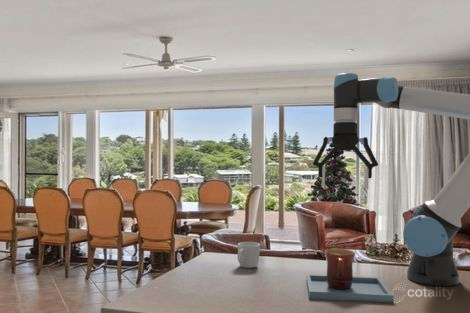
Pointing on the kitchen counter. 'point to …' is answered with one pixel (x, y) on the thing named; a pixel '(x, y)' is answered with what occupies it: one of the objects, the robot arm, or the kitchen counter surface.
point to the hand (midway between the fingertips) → (344, 188)
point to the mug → (339, 268)
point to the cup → (248, 254)
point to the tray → (350, 290)
